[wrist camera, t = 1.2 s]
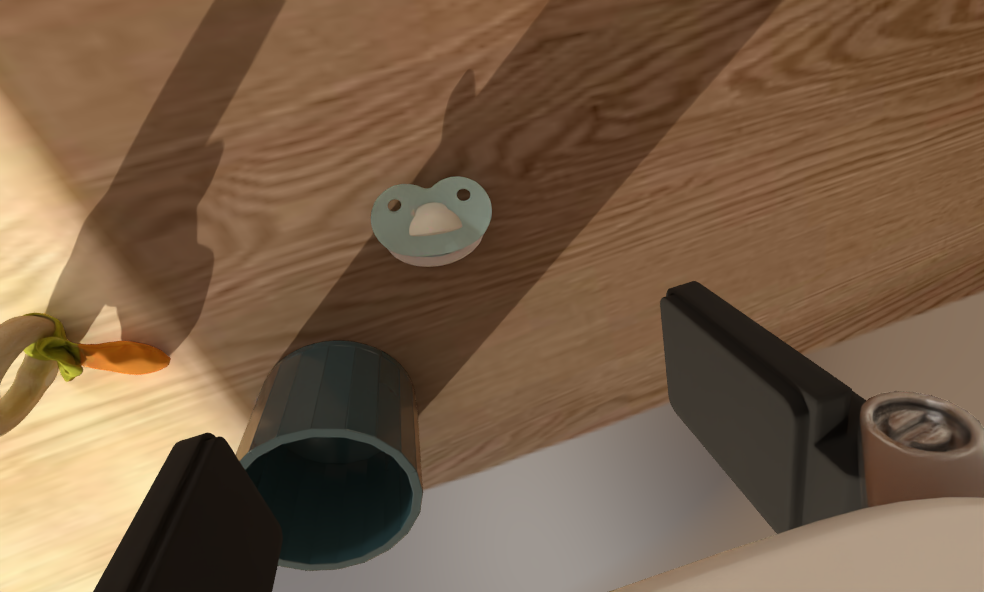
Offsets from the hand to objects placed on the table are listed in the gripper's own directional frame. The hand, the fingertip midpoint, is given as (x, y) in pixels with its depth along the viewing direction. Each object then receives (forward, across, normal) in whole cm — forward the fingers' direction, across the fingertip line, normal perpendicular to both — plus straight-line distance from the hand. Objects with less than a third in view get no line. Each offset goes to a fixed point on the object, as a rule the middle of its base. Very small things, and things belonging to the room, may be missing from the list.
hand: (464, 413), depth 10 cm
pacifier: (+24, 0, +3) cm, 24 cm away
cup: (+24, +10, +15) cm, 30 cm away
